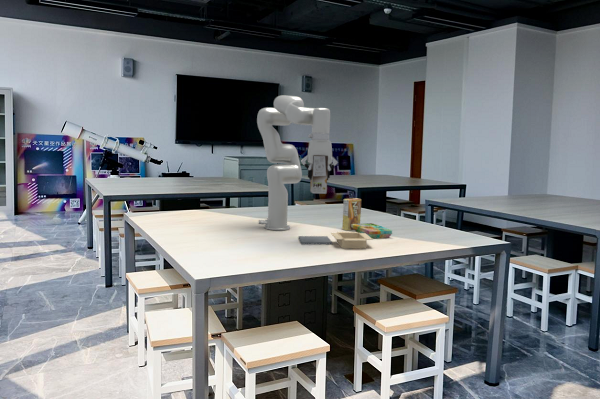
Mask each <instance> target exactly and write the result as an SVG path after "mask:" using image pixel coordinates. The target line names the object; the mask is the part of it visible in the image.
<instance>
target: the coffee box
mask: <svg viewBox="0 0 600 399" xmlns="http://www.w3.org/2000/svg"><path fill="white" fill-rule="evenodd" d="M311 170H312V179H311V180H310V187H309V188H310V189H309V191H310V193H312V194H321V195H322V194H325V195H326V194H327V190H328V180H327V172H328V156H323V155H313V164H312V168H311Z"/></svg>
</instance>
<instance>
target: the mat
mask: <svg viewBox="0 0 600 399" xmlns="http://www.w3.org/2000/svg"><path fill="white" fill-rule="evenodd" d="M298 241H299V242H300V244H301V245H333V241H332V240H331V239H330V237H329V236H327V235H326V236H325V235H324V236H322V235H313V236H312V235H311V236H310V235H301V236H300V235H298Z"/></svg>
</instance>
